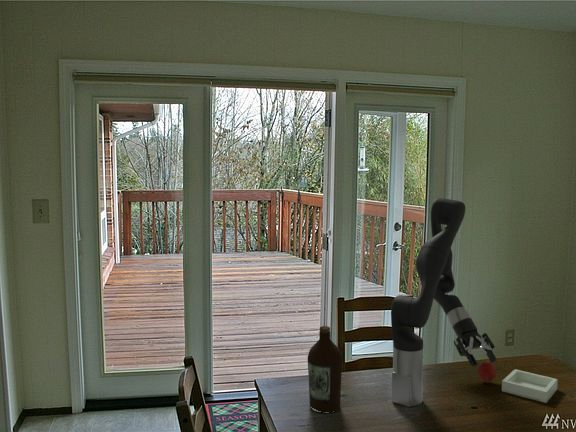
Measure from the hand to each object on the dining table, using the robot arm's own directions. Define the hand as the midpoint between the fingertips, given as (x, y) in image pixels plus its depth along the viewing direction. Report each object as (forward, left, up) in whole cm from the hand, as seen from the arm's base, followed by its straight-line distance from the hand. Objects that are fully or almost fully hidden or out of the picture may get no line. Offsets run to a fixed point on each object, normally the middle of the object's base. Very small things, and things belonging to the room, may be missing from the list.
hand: (485, 363), depth 169 cm
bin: (+3, -14, -6) cm, 15 cm away
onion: (0, -1, -7) cm, 7 cm away
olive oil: (-51, +30, -7) cm, 60 cm away
